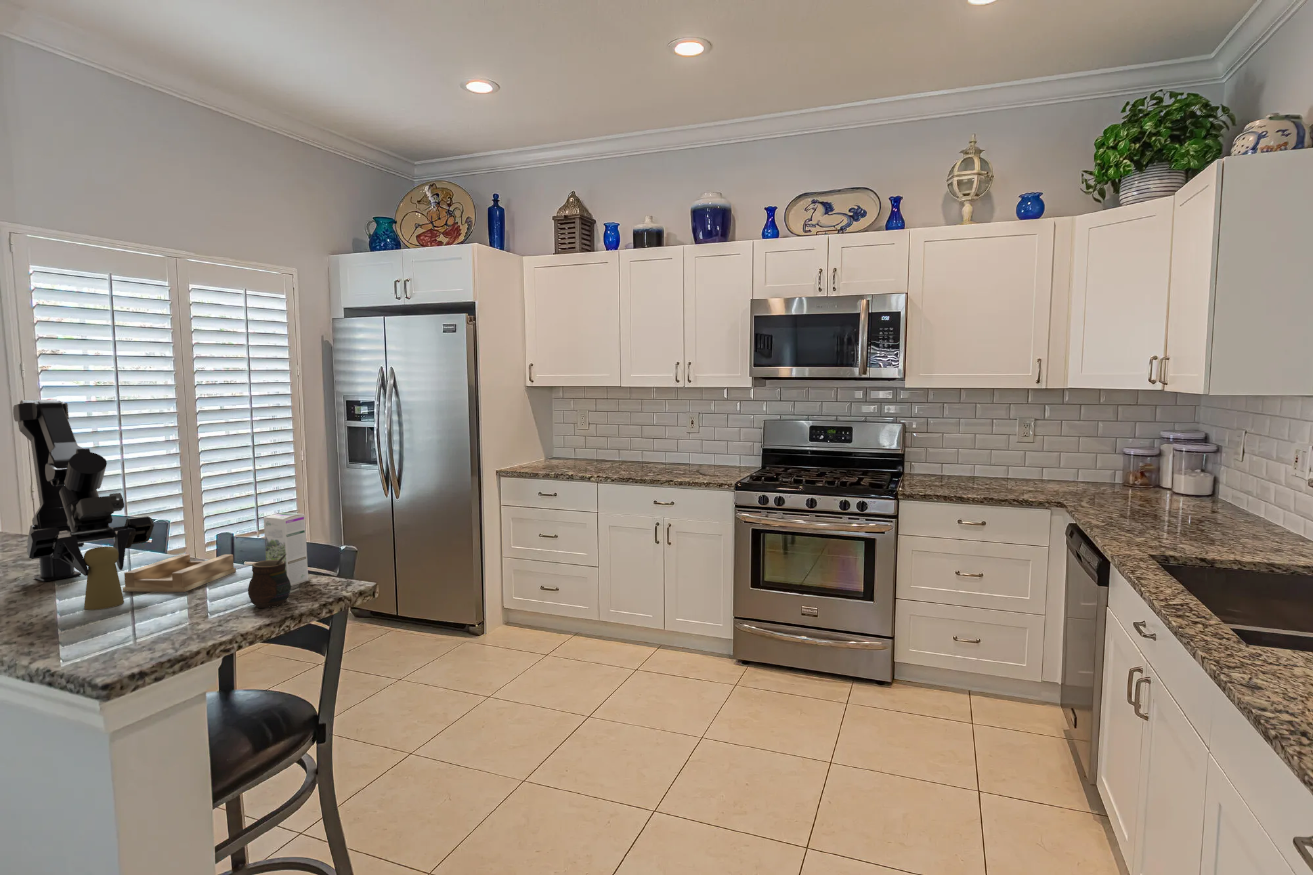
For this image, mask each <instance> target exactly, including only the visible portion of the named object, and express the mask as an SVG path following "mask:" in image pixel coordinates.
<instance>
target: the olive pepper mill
mask: <svg viewBox="0 0 1313 875" xmlns="http://www.w3.org/2000/svg"><path fill="white" fill-rule="evenodd" d="M118 557H119V553H118V550H117V549H116V548H114V547H113V546H97V547H94V548H93V547H91V548H90V549H88V550H86V551H85V553H84V555H83V558H84V560H85V562H86V565H87V568H88V572H89V573H88V576H86V584H85V595H84V596H85V597H84V605H83V608H84V609H85V610H88V611H89V610H92V611H95V610H103V609H104V610H105V609H109V608H110V609H111V608H114V607H117V606H120V605H123V604H124V603H125V599H124V594H123V589H122V586H121V582H120V578H119V577H120V576H119V572H118V569H117V568H118V567H117V563H116V562H117V560H118Z"/></svg>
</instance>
